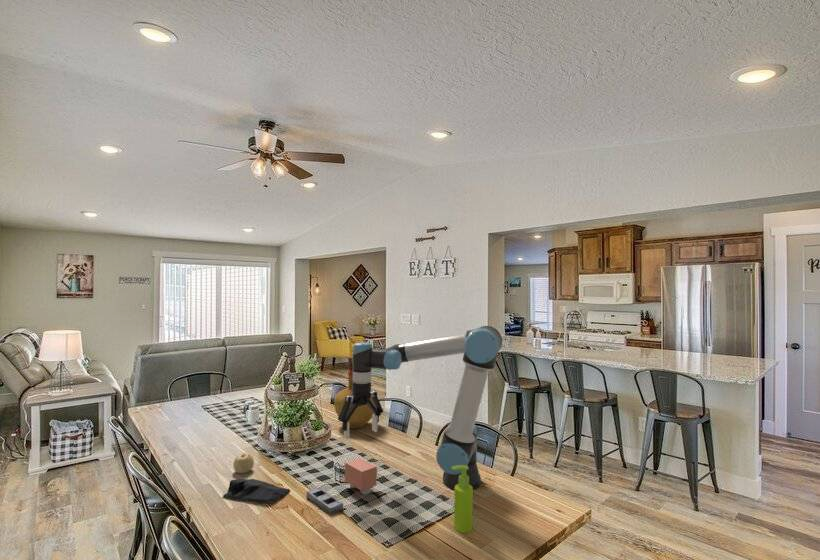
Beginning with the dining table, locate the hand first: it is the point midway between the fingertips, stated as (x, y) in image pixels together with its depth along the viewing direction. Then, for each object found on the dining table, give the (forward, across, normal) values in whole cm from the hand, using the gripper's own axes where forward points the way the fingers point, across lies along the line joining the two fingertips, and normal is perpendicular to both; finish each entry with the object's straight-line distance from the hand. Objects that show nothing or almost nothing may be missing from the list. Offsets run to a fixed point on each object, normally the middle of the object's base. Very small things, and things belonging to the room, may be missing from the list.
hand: (360, 434), depth 173 cm
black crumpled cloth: (+19, +35, -16) cm, 43 cm away
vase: (+19, -36, -57) cm, 70 cm away
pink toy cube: (+19, +4, +6) cm, 20 cm away
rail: (+19, +20, +6) cm, 28 cm away
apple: (+19, +32, -38) cm, 54 cm away
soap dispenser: (+19, -7, +48) cm, 52 cm away
